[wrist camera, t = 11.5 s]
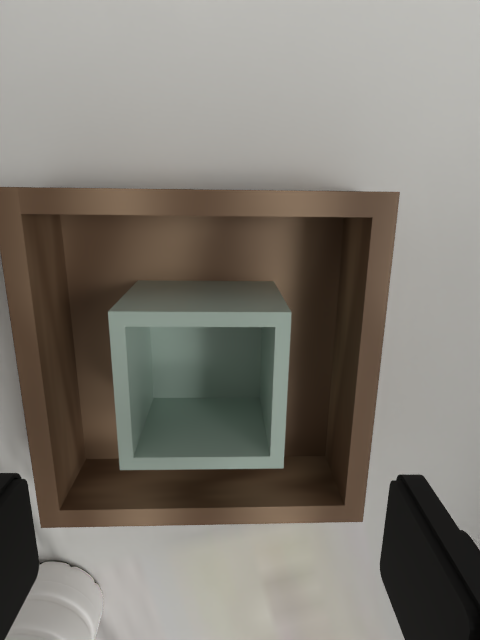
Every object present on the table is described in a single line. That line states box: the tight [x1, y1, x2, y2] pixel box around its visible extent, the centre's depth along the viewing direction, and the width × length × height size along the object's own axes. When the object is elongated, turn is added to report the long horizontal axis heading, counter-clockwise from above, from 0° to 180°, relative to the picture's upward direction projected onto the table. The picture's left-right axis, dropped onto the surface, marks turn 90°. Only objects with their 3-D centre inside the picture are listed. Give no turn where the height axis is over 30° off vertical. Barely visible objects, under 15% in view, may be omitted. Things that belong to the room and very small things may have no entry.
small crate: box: [108, 280, 292, 470], centre depth 20 cm, size 7×7×6 cm
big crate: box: [0, 187, 400, 528], centre depth 21 cm, size 16×16×5 cm
